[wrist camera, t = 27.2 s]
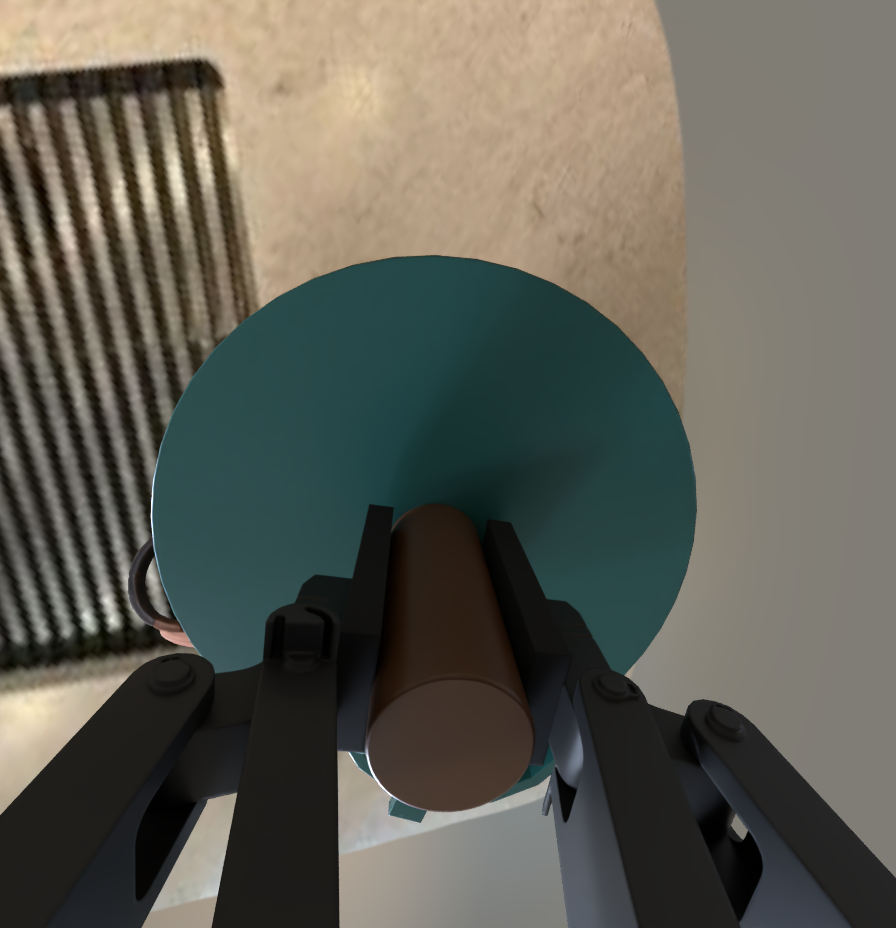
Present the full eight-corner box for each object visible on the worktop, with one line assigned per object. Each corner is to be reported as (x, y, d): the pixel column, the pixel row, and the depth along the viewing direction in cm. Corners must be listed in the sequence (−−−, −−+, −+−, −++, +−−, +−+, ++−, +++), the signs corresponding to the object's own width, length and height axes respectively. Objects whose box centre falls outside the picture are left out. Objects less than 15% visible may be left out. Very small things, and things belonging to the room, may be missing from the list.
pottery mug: (156, 612, 40) (84, 617, 32) (215, 503, 42) (162, 483, 34) (291, 676, 39) (251, 699, 31) (345, 562, 41) (321, 555, 33)
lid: (776, 396, 17) (1163, 484, 8) (544, 783, 21) (637, 1115, 12) (261, 149, 14) (7, -127, 5) (110, 658, 18) (-172, 980, 9)
